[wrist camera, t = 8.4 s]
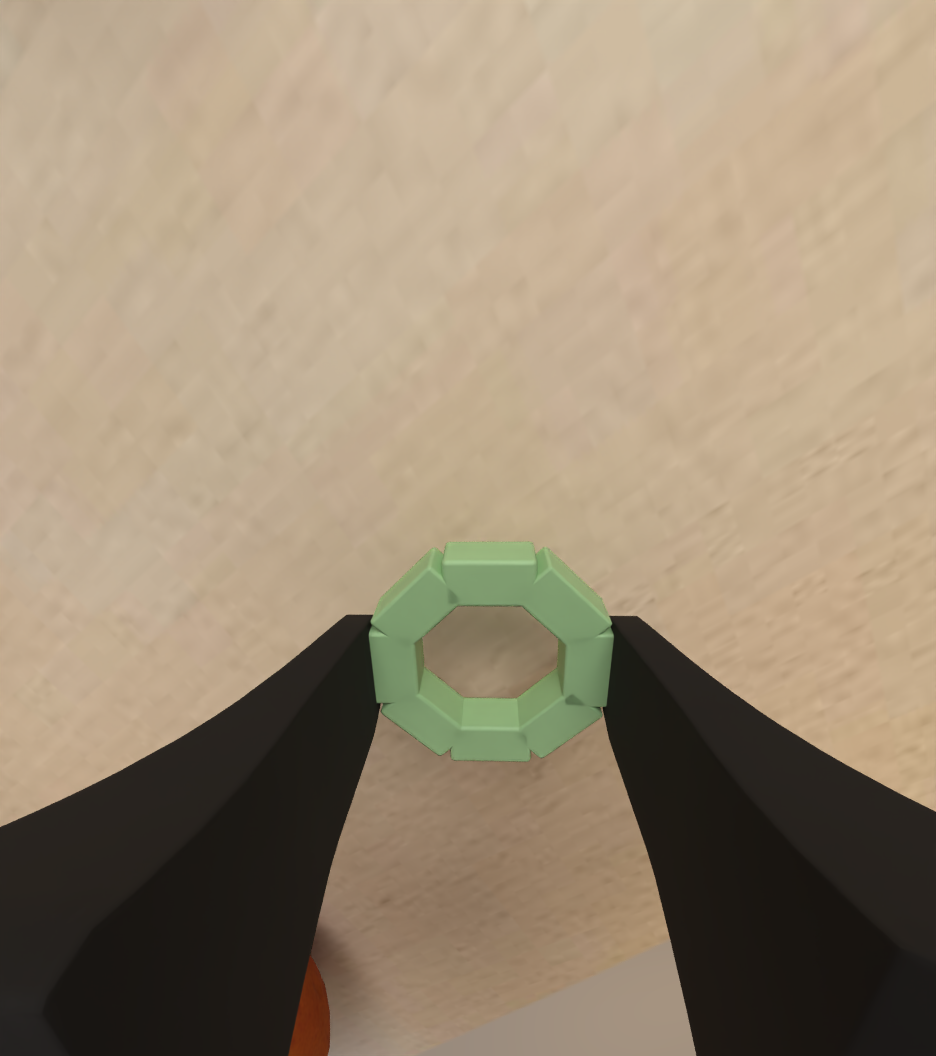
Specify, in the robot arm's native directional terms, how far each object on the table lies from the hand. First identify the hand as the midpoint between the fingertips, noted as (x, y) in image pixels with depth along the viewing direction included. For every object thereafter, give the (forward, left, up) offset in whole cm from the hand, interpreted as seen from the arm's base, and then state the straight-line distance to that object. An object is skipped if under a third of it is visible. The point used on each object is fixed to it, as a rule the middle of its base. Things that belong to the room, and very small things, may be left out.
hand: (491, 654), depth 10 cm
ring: (0, 0, 0) cm, 0 cm away
